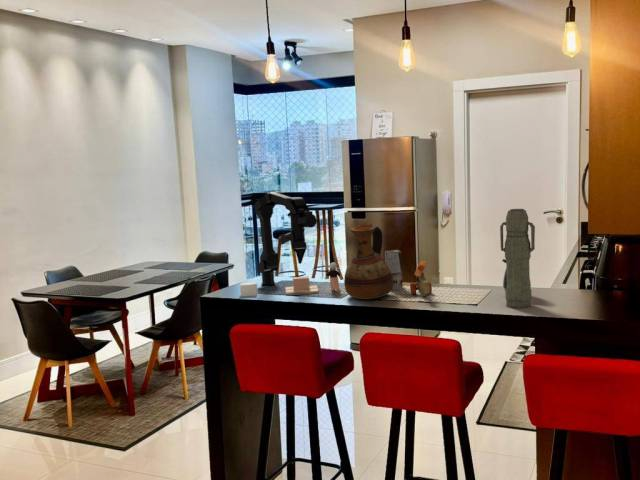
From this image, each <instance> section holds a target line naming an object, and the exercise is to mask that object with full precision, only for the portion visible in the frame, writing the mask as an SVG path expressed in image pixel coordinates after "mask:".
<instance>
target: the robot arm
mask: <svg viewBox="0 0 640 480" xmlns="http://www.w3.org/2000/svg"><path fill="white" fill-rule="evenodd" d="M304 199H305V198H304V197H301V196H300V197H299V196H297V197H296V196H295V197H294V196H293V197H291V196H288V195H285V194H282V193H279V192H276V191H267V192H266V193H265V194H264V195H263V196H261V197H259V199H257V201H255V203H254V206H253V208H254V212H255V215H256V216H257V218H258V220H259V224H260V227H259V228H260V235H261V244H262V246H261V247H262V251H261V253H260V256H259V263H258V265H257V267H256V271H257V273H259V274H261V285H260V286H262V287H263V286H276V281H275V274H274V273H275V272H276V271H279V270H278V269H279V263H280V259H279V253H278V252H276V251H275V249H274V241H273V231H272V222H271V219H272V216H273V215H274V209H275V207H276V205H277V204H278V205H281V206H283V207H285V209H286V210H288V211H289V212H288V213H287V217H289V218H290V230H289V231H290V232H287V233H286V234H285V233H283V234H281V235H280V236H279V237H278V240H279V242H280V245H284V244H287V243H288V242H290V245H291V249H292V251H294V252H295V253H296V258H297V261H298V262H297V263H298V264H299V265H301V264H302V263H303V259H304V256H305V253H306V250H307V247H308V246H307V242H306V237H305V234H306V233H305V228H314V227H315V226H316V225H317V222H318V219H317V217H316V215H315V214H313V211H311V210H310V208H309V207H308V206H309V205H308V204H307V203H306V200H304Z"/></svg>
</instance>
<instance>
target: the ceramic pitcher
mask: <svg viewBox="0 0 640 480" xmlns="http://www.w3.org/2000/svg"><path fill="white" fill-rule="evenodd" d="M349 231H350V232H351V233H352V234H354V236H355V237H356V238H355V239H356V242H357V243H356V244H357V251H356V254H355V255H354V256H353V257H352V259H350V261H349V263H348V264H347V266H346V269H345V272H344V273H345V274H344V277H343V279H344V280H343V282H344V289H345V292H346V293H347V295H349V296H350V297H352V298H355V299H359V300H372V299H373V300H374V299H377V298H380V297H384V296H385V295H388V294H390V293H391V292H392V291H393V290H392V289H393V276H392V273H391V271H390V269H389V267H388V265H387V264H386V262H385V259H383V258H382V256H381V255H382V248H383V231H382V229H381V228H380V227H379V226H378V225H376V224H373V223H366V224H359V225H358V224H357V225H356V226H352V227H350V228H349Z"/></svg>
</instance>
